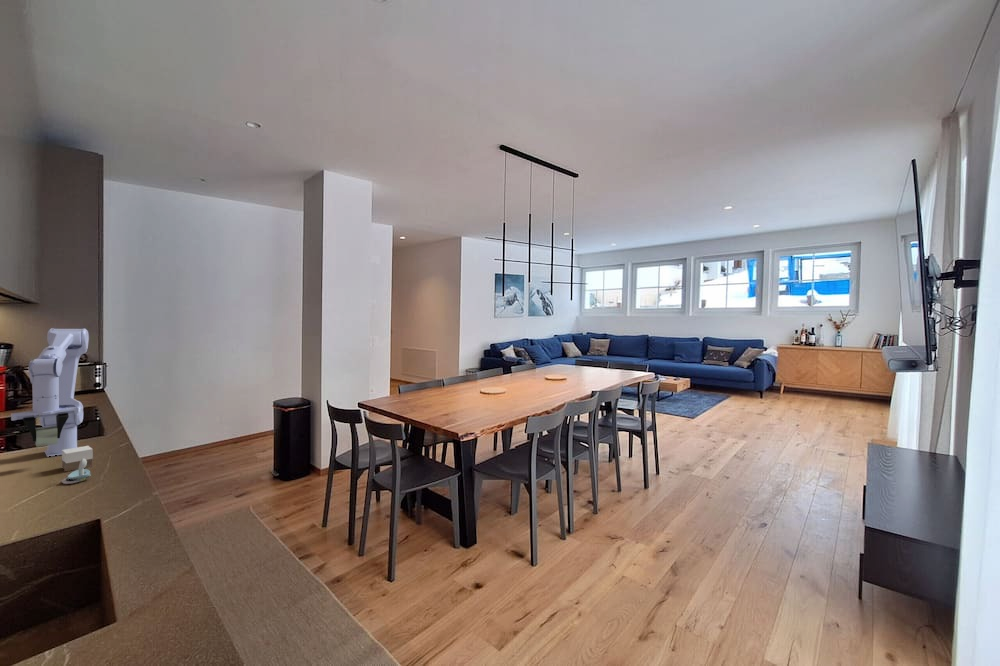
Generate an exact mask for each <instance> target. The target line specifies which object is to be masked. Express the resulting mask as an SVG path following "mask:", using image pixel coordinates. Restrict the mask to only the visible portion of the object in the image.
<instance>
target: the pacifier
mask: <svg viewBox="0 0 1000 666" xmlns="http://www.w3.org/2000/svg"><path fill="white" fill-rule="evenodd" d="M86 465H87V460H86V459H84V458H82V459H81V461H80V464H79V469H78V470H74V471H71V473H70V474H68V475H67V477H66V478H63V479H62V480H61V483H62V484H64V485H73V484H77V483H78V482H79V483H80V482H84V481H86V479H87V478H89V477H91V476H92V474H91V471H90V469H89V468H85V467H86ZM84 468H85V469H84ZM69 479H70V480H71V481H70V480H69Z"/></svg>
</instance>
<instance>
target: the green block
mask: <svg viewBox="0 0 1000 666" xmlns="http://www.w3.org/2000/svg"><path fill="white" fill-rule="evenodd" d="M35 431H36V441H35V443H34V445H35V446H36V448H38V447H45V446H48V445H53V444H58V442H57V427H56V426H51V427H36V429H35Z"/></svg>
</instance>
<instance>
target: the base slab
mask: <svg viewBox="0 0 1000 666" xmlns="http://www.w3.org/2000/svg"><path fill="white" fill-rule="evenodd" d="M61 460H62V459H61ZM79 464H80V461H77V462H71V463H65V462H64V461H63V460H62V462H61V465H62V466H61V467H63V468H62V469H64V470H63V471H64V472H65V471H68V472H72V471H71V470H74V471H76V470H78V469H79ZM87 467H90V468H92V467H93V459H88V460H87V465H86V467H85V469H88V468H87Z"/></svg>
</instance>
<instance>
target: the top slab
mask: <svg viewBox="0 0 1000 666" xmlns="http://www.w3.org/2000/svg"><path fill="white" fill-rule="evenodd" d="M82 458H84V459H86V460H88V459H92V460H93V459H94V450H93V448H92V447H90V445H85V446H77V448H71V449H65V450H62V455H61V460H63V461H64V462H65V463H71V462H77V461H81V459H82Z"/></svg>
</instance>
